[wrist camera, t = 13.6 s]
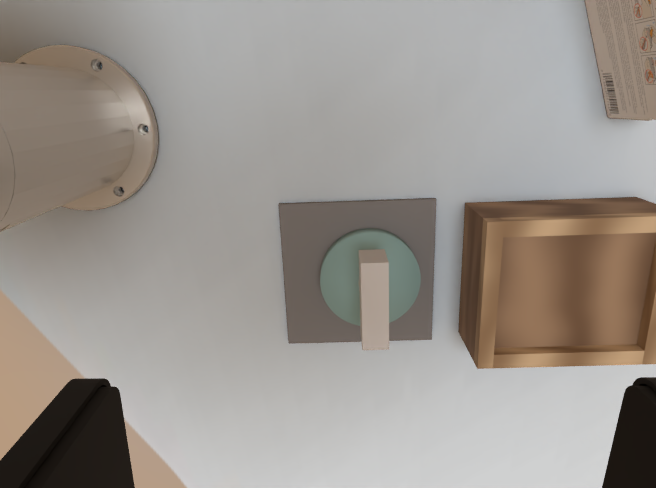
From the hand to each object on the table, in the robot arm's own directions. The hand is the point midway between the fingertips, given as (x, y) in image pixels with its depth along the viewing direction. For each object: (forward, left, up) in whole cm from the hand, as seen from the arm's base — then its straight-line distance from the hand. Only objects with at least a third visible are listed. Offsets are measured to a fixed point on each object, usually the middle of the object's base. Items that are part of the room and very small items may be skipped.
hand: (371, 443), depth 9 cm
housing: (+17, -9, -31) cm, 37 cm away
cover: (+2, -9, -31) cm, 32 cm away
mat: (+1, -9, -31) cm, 33 cm away
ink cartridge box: (+20, +9, -32) cm, 39 cm away
